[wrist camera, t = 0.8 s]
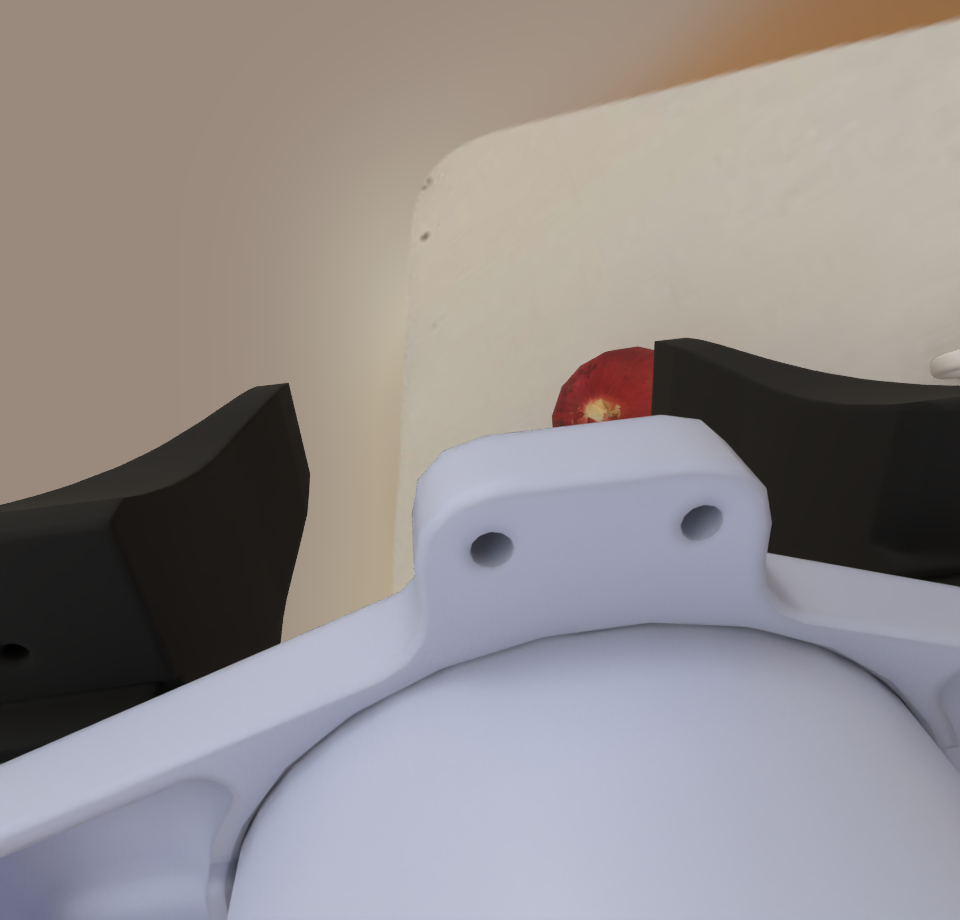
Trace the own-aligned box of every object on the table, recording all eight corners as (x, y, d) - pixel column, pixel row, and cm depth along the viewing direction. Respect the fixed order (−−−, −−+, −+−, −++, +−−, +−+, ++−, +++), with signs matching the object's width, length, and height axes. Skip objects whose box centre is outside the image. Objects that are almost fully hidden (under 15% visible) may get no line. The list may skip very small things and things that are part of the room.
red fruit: (596, 509, 30) (512, 509, 23) (588, 377, 30) (504, 339, 24) (738, 501, 27) (691, 499, 20) (726, 356, 28) (676, 306, 21)
